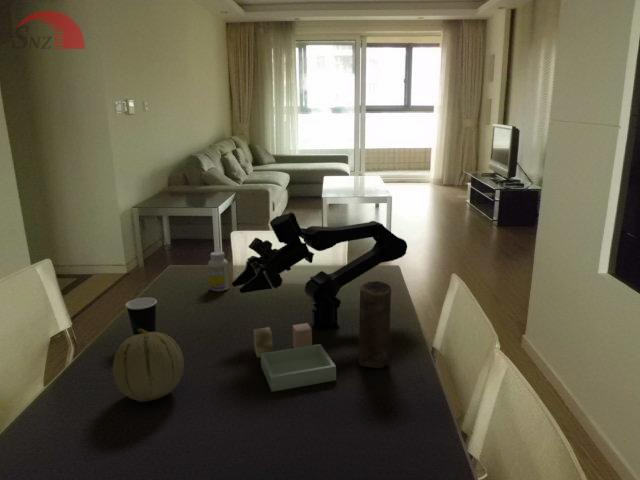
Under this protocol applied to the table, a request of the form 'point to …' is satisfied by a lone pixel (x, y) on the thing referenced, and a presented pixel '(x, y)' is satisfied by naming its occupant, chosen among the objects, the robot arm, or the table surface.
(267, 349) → the maple block
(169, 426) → the table surface
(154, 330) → the dixie cup
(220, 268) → the supplement bottle
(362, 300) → the candle
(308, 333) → the coral block
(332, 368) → the sage tub
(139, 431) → the table surface
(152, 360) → the cantaloupe
